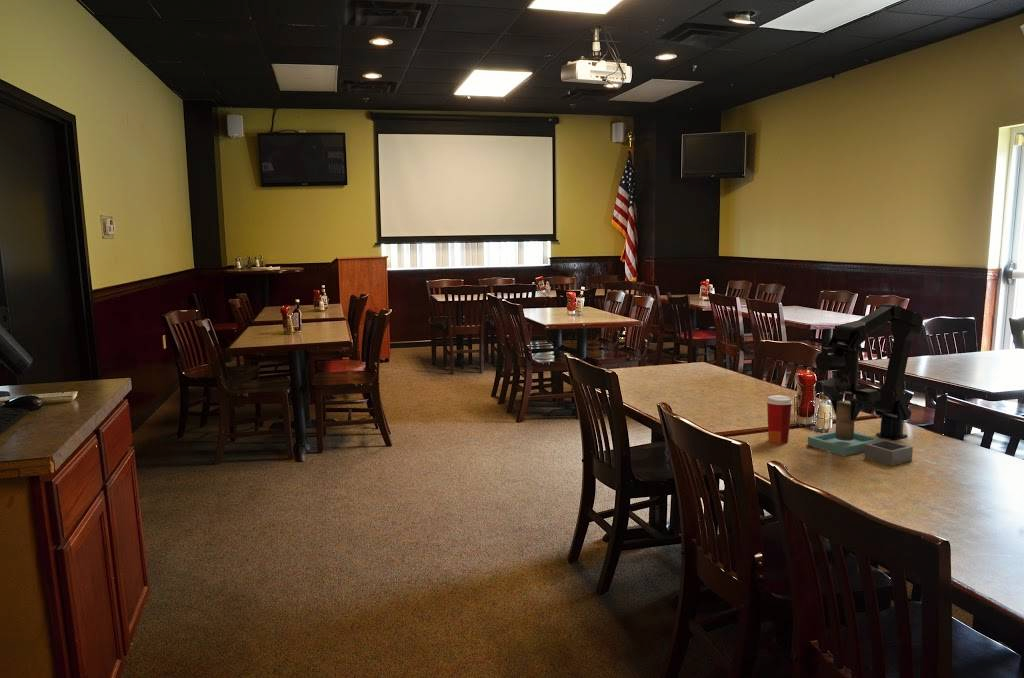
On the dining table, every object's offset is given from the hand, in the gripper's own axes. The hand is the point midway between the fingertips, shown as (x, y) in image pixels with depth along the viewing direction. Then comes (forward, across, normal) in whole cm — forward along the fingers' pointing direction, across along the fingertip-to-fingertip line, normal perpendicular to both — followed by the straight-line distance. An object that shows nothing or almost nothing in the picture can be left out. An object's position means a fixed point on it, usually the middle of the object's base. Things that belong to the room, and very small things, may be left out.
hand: (845, 418), depth 215 cm
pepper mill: (+6, 0, 0) cm, 6 cm away
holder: (+8, +14, 0) cm, 17 cm away
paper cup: (+9, -14, -13) cm, 21 cm away
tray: (+8, 0, 0) cm, 9 cm away
